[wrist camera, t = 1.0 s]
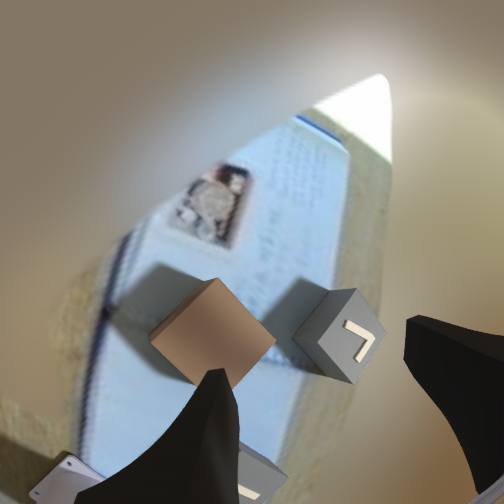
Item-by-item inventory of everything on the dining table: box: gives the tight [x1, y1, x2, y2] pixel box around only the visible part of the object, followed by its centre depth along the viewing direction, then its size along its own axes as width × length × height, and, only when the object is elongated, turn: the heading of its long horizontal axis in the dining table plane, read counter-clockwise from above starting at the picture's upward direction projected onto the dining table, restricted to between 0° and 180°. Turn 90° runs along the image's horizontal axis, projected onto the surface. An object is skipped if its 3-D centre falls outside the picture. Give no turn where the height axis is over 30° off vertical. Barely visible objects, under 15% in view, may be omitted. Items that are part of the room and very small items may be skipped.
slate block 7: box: [292, 288, 387, 384], centre depth 23 cm, size 6×6×4 cm
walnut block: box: [149, 278, 277, 389], centre depth 19 cm, size 6×6×4 cm
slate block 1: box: [238, 441, 289, 504], centre depth 17 cm, size 6×6×4 cm
